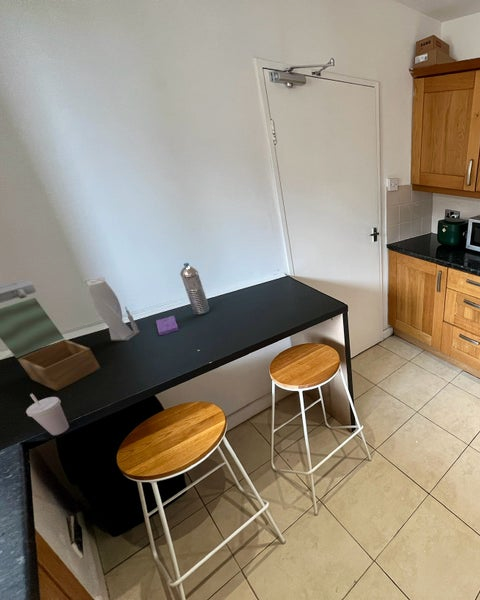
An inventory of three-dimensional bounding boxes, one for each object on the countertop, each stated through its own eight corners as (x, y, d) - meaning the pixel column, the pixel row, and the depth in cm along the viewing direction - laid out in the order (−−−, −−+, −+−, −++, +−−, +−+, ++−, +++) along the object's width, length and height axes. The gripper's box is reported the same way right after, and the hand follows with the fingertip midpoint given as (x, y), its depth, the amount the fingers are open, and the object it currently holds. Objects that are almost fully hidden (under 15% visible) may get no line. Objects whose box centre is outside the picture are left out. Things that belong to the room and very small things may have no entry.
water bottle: (205, 315, 148) (188, 266, 136) (190, 315, 148) (173, 266, 137) (213, 308, 154) (198, 260, 143) (199, 308, 154) (183, 260, 143)
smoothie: (39, 435, 88) (11, 398, 82) (67, 418, 93) (43, 382, 87) (52, 442, 86) (24, 404, 79) (80, 424, 91) (56, 388, 85)
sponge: (175, 318, 145) (173, 315, 144) (179, 330, 137) (177, 326, 136) (156, 323, 141) (155, 320, 140) (159, 335, 133) (158, 332, 132)
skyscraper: (125, 342, 128) (95, 280, 115) (105, 342, 128) (73, 280, 115) (140, 331, 136) (113, 271, 123) (122, 331, 136) (93, 271, 123)
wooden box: (100, 368, 114) (90, 348, 110) (56, 391, 103) (42, 370, 99) (75, 358, 119) (64, 339, 115) (31, 379, 108) (17, 359, 104)
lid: (35, 297, 109) (34, 297, 109) (-19, 314, 98) (-20, 314, 99) (64, 338, 115) (63, 338, 115) (16, 357, 104) (16, 357, 104)
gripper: (-71, 298, 99) (-52, 307, 94) (18, 274, 116) (38, 281, 111) (-57, 315, 102) (-38, 324, 97) (28, 290, 119) (47, 297, 114)
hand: (3, 301), depth 104 cm, fingers open, 8 cm apart
